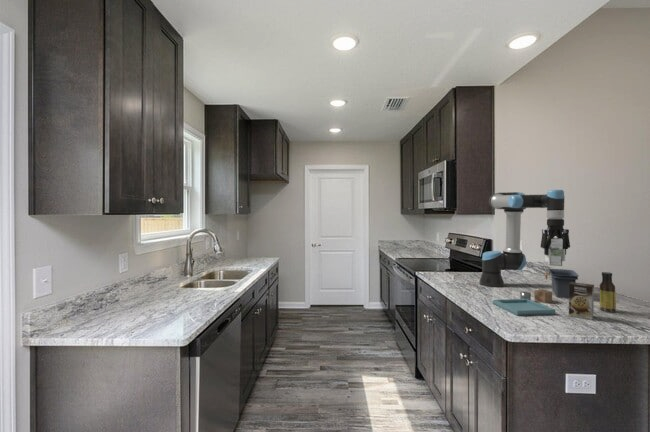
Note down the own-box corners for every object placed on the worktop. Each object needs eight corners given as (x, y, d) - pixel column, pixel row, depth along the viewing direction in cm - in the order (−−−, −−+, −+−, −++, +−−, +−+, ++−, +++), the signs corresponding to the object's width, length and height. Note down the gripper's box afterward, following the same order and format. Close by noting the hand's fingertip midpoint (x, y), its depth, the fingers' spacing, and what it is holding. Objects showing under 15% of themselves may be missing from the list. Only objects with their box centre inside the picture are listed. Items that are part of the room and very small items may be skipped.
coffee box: (568, 316, 157) (568, 283, 157) (570, 313, 161) (570, 281, 161) (592, 320, 150) (592, 286, 150) (594, 317, 155) (594, 284, 155)
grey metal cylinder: (518, 300, 185) (518, 291, 185) (526, 299, 186) (526, 291, 186) (524, 302, 180) (524, 293, 180) (532, 302, 181) (532, 293, 181)
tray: (492, 304, 178) (492, 299, 178) (527, 303, 179) (527, 298, 179) (517, 315, 158) (517, 310, 158) (555, 314, 159) (555, 309, 159)
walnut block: (534, 300, 185) (534, 290, 185) (541, 299, 187) (541, 289, 187) (544, 303, 179) (544, 292, 179) (552, 302, 181) (552, 291, 181)
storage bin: (580, 300, 183) (580, 276, 183) (547, 297, 191) (548, 273, 191) (572, 292, 202) (573, 269, 202) (543, 289, 209) (543, 268, 209)
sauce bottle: (607, 309, 168) (607, 271, 167) (619, 312, 161) (619, 273, 161) (596, 309, 167) (596, 271, 167) (607, 313, 161) (607, 273, 161)
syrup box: (561, 264, 173) (561, 237, 172) (562, 266, 168) (562, 238, 167) (548, 263, 176) (548, 237, 175) (549, 265, 170) (549, 238, 170)
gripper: (542, 219, 167) (542, 262, 167) (579, 218, 168) (579, 261, 169) (532, 218, 174) (532, 260, 175) (567, 218, 176) (567, 259, 176)
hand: (555, 261), depth 172 cm, fingers closed on syrup box, 8 cm apart
